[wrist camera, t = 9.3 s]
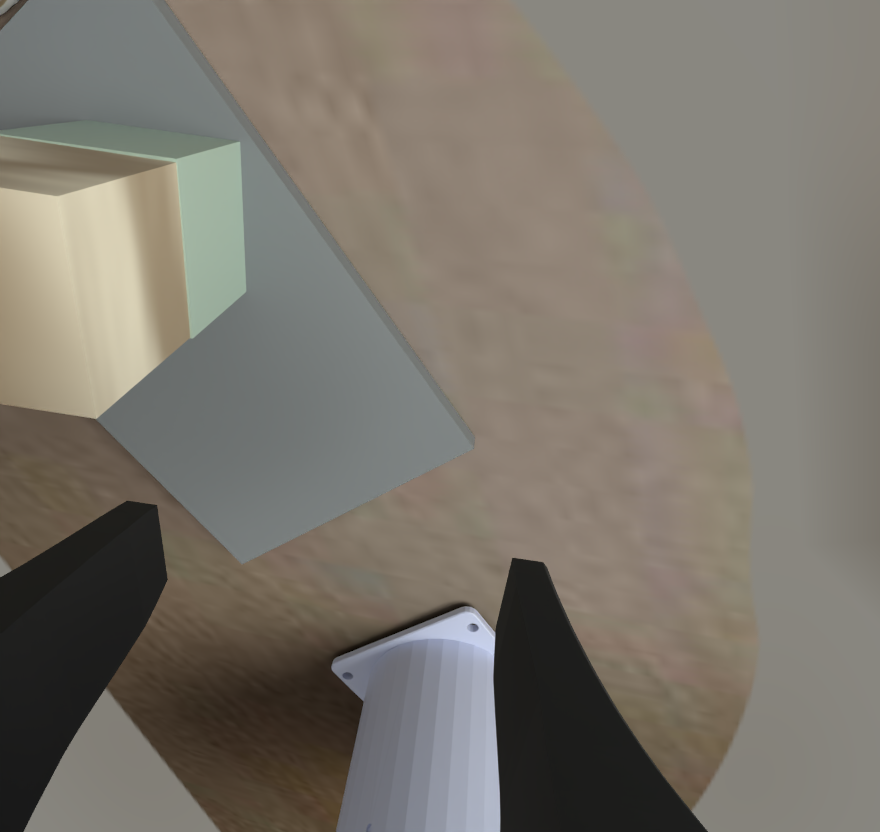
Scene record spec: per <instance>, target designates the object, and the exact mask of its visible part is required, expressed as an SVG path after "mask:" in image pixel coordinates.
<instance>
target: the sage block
mask: <svg viewBox="0 0 880 832" xmlns="http://www.w3.org/2000/svg"><path fill="white" fill-rule="evenodd" d="M0 136H5V137H12V138H18V139H25V140H32V141H38V142H45V143H51V144H58V145H64V146H71V147H78V148H84V149H91V150H97V151H104V152H111V153H117V154H124V155H130V156H137V157H143V158H150V159H157V160H163V161H170V162H176V166H177V178H178V191H179V203H180V216H181V228H182V240H183V253H184V265H185V278H186V290H187V303H188V315H189V328H190V338H192V339H193V338H194V337H195V336H196V335H198V334H199V333H200V332H201V331H202V330H203V329H204V328H206V327H207V326H208V325H209V324H210V323H211V322H212V321H213V320H215V319H216V318H217V317H218V316H219V315H220V314H221V313H223V312H224V311H225V310H226V309H227V308H228V307H229V306H231V305H232V304H233V303H234V302H235V301H236V300H237V299H239V298H240V297H241V296H242V295H243V294H244V293H245V292H246V272H245V248H244V223H243V199H242V175H241V150H240V141H233V140H226V139H219V138H212V137H205V136H198V135H190V134H183V133H176V132H169V131H162V130H154V129H147V128H140V127H133V126H126V125H119V124H111V123H104V122H97V121H90V120H83V121H74V122H66V123H58V124H49V125H41V126H33V127H25V128H16V129H8V130H0Z"/></svg>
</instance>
